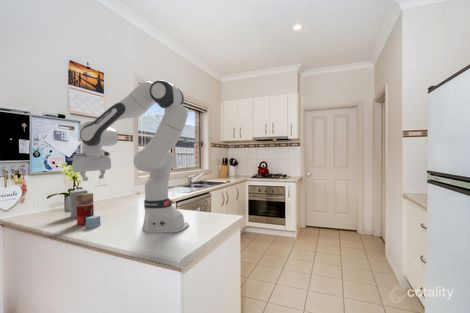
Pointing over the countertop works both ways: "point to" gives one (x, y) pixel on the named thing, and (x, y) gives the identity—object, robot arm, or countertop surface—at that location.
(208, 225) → the countertop surface
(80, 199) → the walnut block
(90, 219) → the slate block
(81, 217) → the canned food
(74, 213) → the skincare box
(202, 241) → the countertop surface
